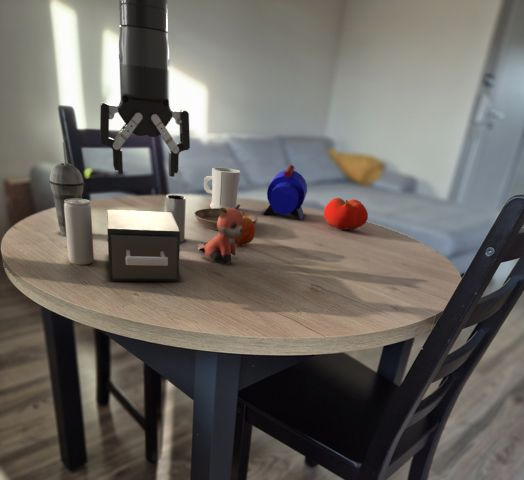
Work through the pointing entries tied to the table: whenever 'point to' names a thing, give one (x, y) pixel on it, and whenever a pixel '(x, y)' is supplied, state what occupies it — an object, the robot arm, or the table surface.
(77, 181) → the beverage cup
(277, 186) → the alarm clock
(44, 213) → the table surface
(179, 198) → the grey hollow cylinder
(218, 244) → the stuffed fox
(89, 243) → the beverage can
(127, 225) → the cabinet
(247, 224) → the fruit
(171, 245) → the drawer
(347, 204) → the tomato
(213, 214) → the plant saucer
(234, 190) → the cup
